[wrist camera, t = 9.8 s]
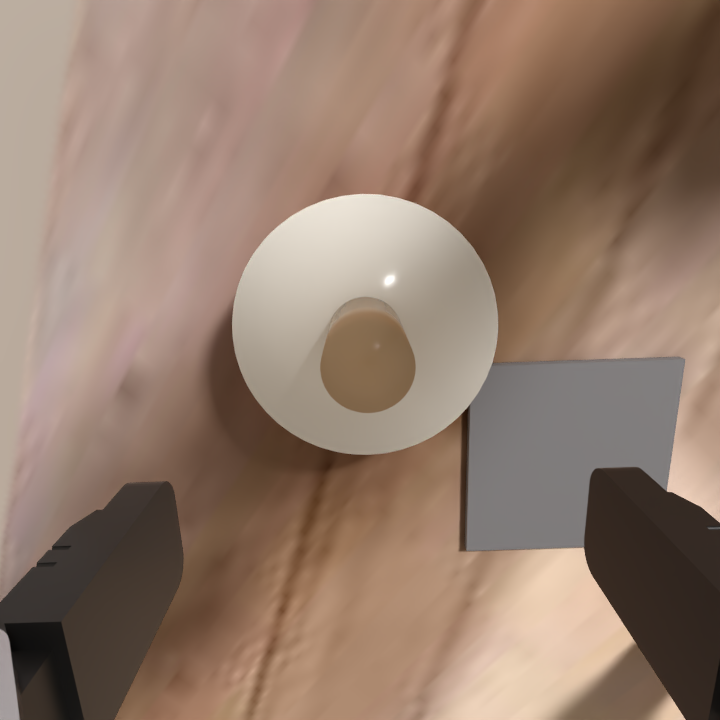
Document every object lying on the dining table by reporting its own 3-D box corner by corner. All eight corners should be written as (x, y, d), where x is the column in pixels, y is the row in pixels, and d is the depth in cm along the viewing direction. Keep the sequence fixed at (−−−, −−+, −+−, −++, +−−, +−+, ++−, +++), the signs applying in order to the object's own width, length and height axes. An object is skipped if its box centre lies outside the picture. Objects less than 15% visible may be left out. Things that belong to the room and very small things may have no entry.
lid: (498, 190, 24) (552, 180, 18) (488, 442, 28) (530, 515, 21) (224, 199, 24) (173, 192, 18) (248, 450, 28) (214, 524, 21)
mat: (679, 356, 32) (685, 359, 31) (653, 539, 35) (658, 544, 35) (469, 363, 32) (471, 366, 31) (464, 545, 35) (466, 550, 35)
